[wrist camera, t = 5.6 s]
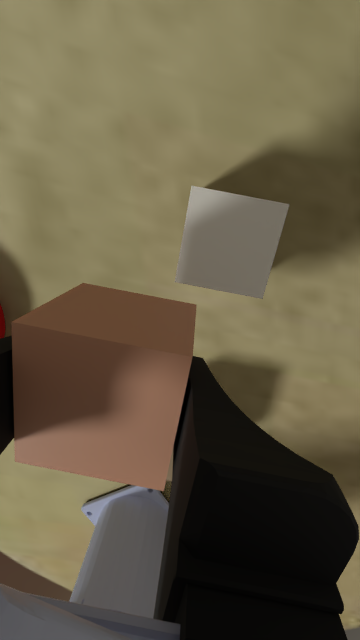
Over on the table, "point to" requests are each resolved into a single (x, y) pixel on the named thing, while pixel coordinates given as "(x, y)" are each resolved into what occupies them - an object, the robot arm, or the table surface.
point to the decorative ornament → (2, 323)
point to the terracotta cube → (101, 383)
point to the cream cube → (229, 241)
